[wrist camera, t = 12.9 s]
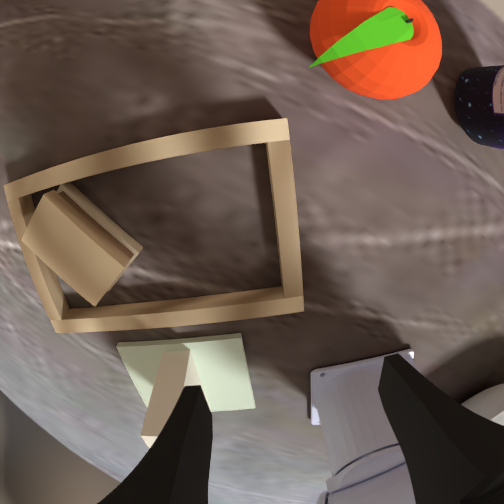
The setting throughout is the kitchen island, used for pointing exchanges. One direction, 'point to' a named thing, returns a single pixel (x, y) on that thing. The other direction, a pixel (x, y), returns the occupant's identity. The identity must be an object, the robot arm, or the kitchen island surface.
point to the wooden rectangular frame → (183, 309)
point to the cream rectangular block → (168, 390)
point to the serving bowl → (488, 404)
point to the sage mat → (207, 363)
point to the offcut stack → (79, 242)
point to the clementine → (376, 45)
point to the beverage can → (482, 104)
